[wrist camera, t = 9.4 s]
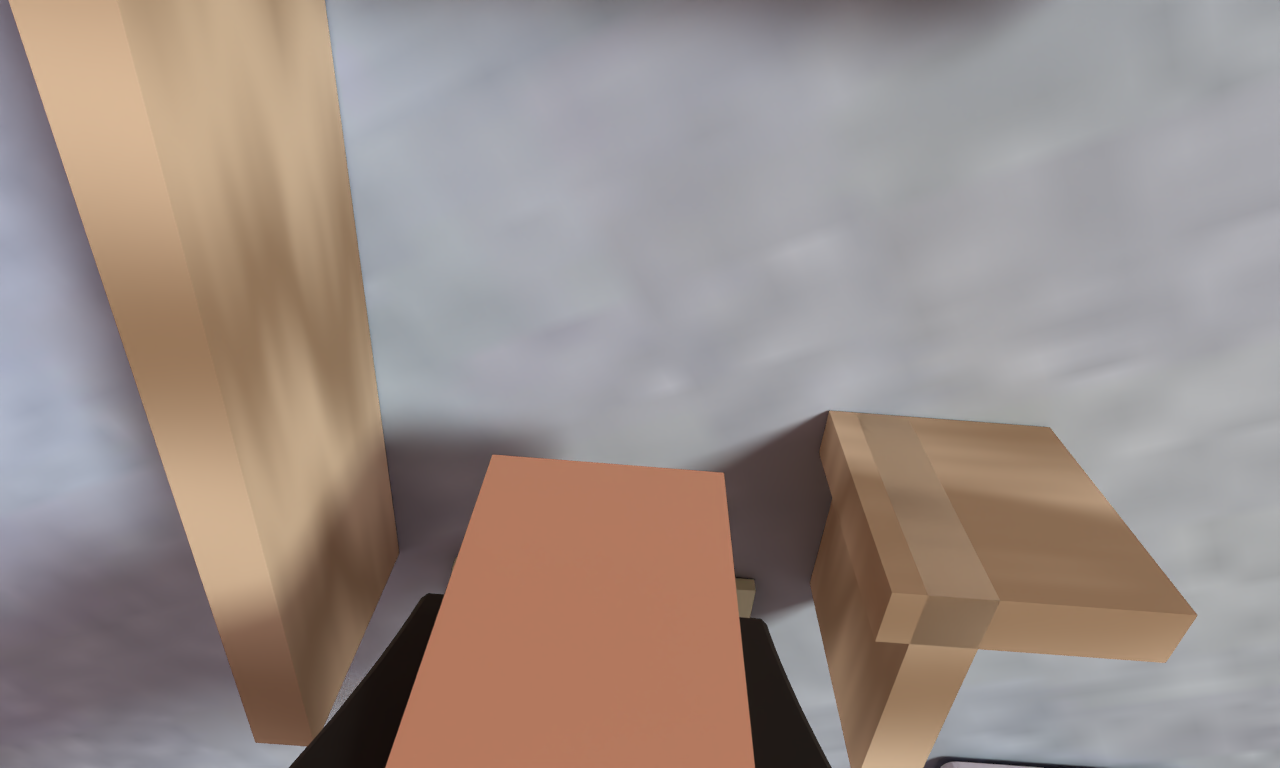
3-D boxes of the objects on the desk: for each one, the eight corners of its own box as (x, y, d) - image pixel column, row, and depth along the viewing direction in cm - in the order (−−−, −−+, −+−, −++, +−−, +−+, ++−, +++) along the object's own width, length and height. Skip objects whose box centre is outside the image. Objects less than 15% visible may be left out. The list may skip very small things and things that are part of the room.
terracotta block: (697, 630, 15) (717, 1102, 9) (498, 615, 15) (382, 1078, 9) (723, 472, 13) (773, 948, 7) (492, 454, 13) (335, 916, 7)
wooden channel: (976, 595, 20) (1073, 800, 15) (354, 549, 20) (255, 742, 15) (1352, -268, 11) (1900, -435, 6) (191, -368, 10) (-199, -621, 6)
